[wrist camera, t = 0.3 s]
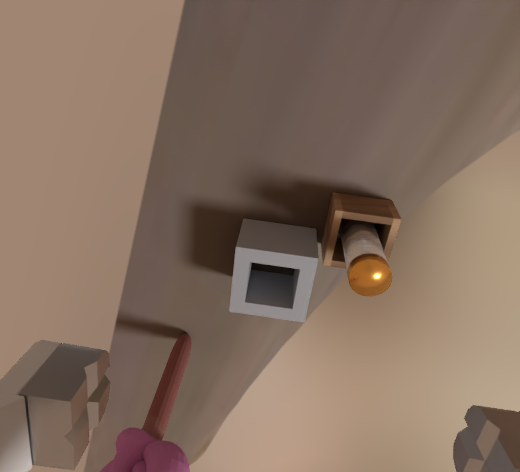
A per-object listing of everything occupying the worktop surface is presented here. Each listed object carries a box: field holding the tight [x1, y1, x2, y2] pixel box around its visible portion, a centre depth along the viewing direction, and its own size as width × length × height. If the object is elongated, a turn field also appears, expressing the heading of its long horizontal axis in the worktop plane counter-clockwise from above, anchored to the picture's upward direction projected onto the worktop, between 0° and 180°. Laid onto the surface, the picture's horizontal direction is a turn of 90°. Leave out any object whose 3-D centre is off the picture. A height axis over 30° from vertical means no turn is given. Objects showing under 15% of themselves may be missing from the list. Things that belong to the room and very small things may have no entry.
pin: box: [339, 218, 392, 296], centre depth 44 cm, size 4×4×12 cm
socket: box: [229, 218, 318, 323], centre depth 50 cm, size 9×9×7 cm
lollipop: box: [100, 334, 191, 472], centre depth 48 cm, size 13×8×30 cm, turn 125°
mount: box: [321, 192, 401, 269], centre depth 47 cm, size 7×7×5 cm
